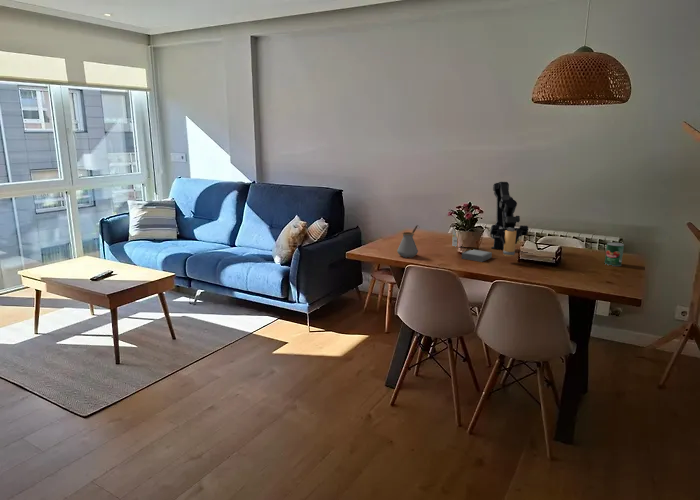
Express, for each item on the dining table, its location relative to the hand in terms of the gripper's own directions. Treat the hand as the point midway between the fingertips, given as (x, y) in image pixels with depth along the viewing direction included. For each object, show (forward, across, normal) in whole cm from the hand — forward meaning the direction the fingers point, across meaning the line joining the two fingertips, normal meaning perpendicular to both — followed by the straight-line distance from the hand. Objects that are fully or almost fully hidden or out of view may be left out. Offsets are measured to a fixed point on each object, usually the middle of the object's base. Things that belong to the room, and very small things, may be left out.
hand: (510, 243), depth 260 cm
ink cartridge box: (-18, -22, +33) cm, 44 cm away
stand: (+2, -16, +14) cm, 21 cm away
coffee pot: (-1, -52, +17) cm, 54 cm away
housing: (+4, 0, +6) cm, 7 cm away
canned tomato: (+4, +54, +12) cm, 55 cm away
